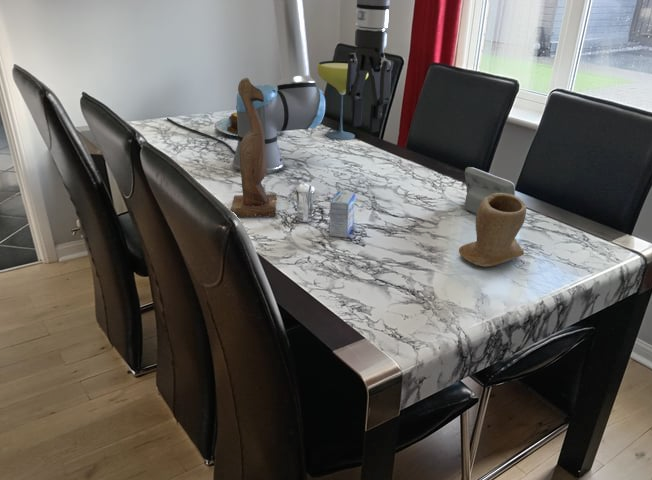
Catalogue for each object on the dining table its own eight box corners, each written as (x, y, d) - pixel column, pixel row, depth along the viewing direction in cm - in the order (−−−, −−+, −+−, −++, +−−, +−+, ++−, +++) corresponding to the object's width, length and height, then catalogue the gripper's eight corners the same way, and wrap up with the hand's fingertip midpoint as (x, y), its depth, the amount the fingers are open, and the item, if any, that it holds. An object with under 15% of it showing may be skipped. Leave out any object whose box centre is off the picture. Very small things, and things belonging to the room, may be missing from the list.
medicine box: (347, 238, 135) (349, 203, 130) (328, 236, 135) (329, 201, 131) (353, 225, 141) (355, 192, 137) (336, 223, 142) (337, 190, 138)
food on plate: (293, 127, 221) (294, 110, 218) (271, 144, 200) (271, 125, 197) (232, 120, 226) (231, 103, 222) (203, 135, 204) (202, 117, 201)
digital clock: (518, 221, 150) (526, 181, 145) (490, 225, 146) (498, 185, 141) (480, 199, 162) (486, 162, 157) (454, 203, 159) (459, 165, 154)
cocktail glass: (335, 127, 225) (338, 59, 213) (374, 136, 216) (379, 65, 204) (306, 135, 212) (307, 63, 200) (345, 145, 203) (349, 70, 191)
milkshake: (301, 225, 140) (301, 186, 135) (292, 217, 144) (292, 179, 139) (318, 223, 142) (319, 184, 137) (309, 215, 146) (310, 177, 141)
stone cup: (487, 277, 121) (499, 211, 114) (450, 255, 130) (460, 191, 122) (537, 263, 128) (552, 199, 121) (499, 242, 137) (511, 182, 130)
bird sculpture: (279, 218, 143) (277, 83, 127) (231, 218, 141) (223, 82, 126) (276, 201, 153) (275, 74, 137) (231, 202, 151) (225, 73, 135)
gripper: (332, 25, 138) (329, 122, 149) (389, 34, 126) (381, 139, 138) (355, 24, 143) (350, 119, 154) (412, 33, 131) (402, 134, 142)
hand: (365, 128), depth 146 cm, fingers open, 6 cm apart
